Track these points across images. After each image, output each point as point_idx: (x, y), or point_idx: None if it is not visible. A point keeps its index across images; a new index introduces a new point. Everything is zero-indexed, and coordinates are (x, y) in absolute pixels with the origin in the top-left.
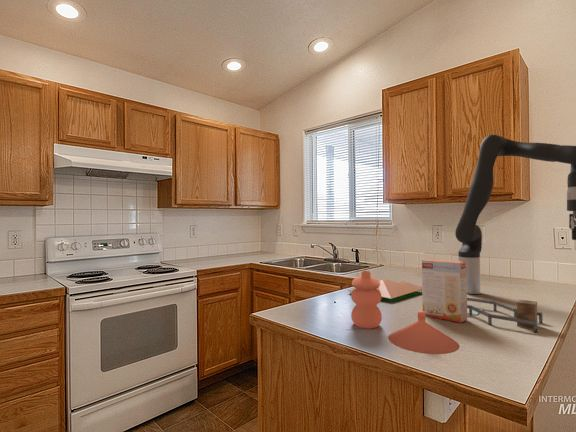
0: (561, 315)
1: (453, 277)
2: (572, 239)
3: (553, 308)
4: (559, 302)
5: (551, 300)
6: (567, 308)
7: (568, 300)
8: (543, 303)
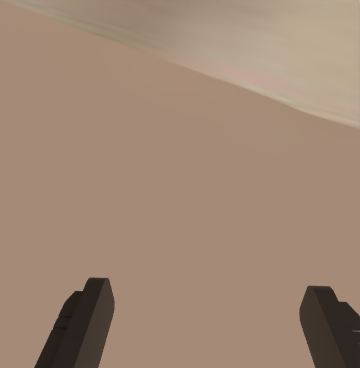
0: (106, 27)
1: None
2: (323, 286)
3: (203, 27)
4: (308, 76)
5: (340, 57)
6: (218, 76)
7: (345, 115)
8: (280, 10)
